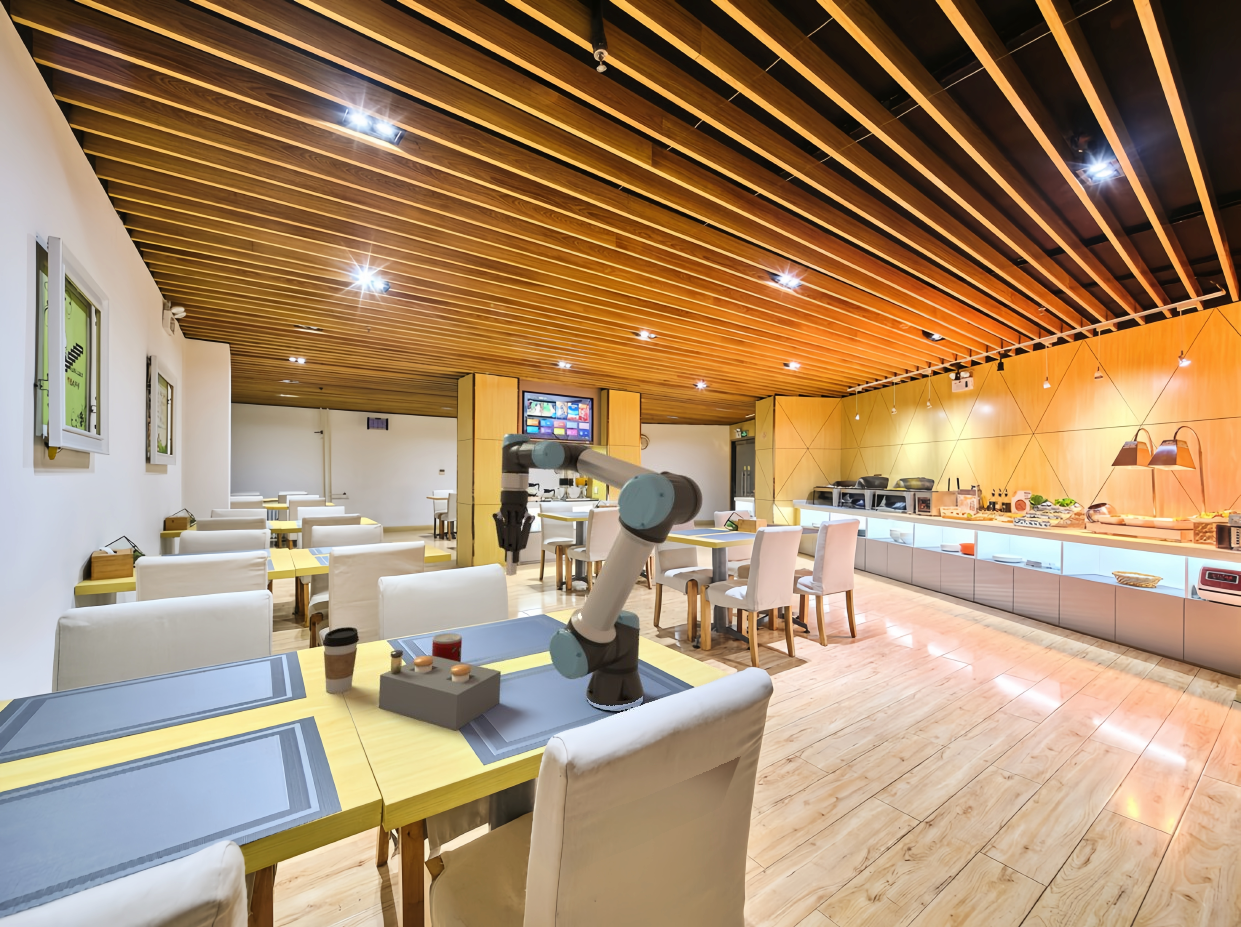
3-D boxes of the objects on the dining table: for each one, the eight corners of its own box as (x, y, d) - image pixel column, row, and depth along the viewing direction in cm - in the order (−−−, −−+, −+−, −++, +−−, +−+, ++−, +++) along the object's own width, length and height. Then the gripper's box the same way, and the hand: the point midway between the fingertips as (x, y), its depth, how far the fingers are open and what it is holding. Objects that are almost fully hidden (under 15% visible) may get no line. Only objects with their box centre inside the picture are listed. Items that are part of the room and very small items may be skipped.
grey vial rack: (499, 703, 131) (500, 671, 131) (455, 730, 116) (457, 695, 116) (427, 684, 140) (428, 655, 141) (378, 707, 126) (380, 674, 126)
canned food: (455, 681, 143) (456, 642, 143) (426, 680, 143) (428, 640, 143) (464, 671, 151) (465, 633, 151) (436, 670, 151) (438, 632, 151)
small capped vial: (404, 671, 129) (405, 651, 129) (396, 675, 126) (396, 654, 126) (395, 669, 130) (396, 649, 130) (387, 673, 127) (388, 653, 127)
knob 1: (436, 689, 132) (437, 658, 132) (422, 696, 128) (423, 663, 128) (422, 685, 134) (423, 654, 134) (408, 692, 130) (410, 660, 130)
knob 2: (473, 699, 127) (474, 666, 127) (460, 706, 123) (461, 672, 123) (458, 695, 129) (460, 663, 129) (445, 702, 125) (447, 669, 125)
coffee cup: (363, 683, 140) (365, 628, 140) (343, 696, 131) (346, 637, 132) (334, 681, 140) (336, 626, 141) (312, 694, 132) (315, 635, 132)
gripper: (541, 490, 144) (538, 575, 143) (503, 488, 149) (500, 570, 149) (526, 490, 137) (523, 579, 136) (487, 488, 142) (483, 574, 142)
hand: (511, 574), depth 143 cm, fingers closed
